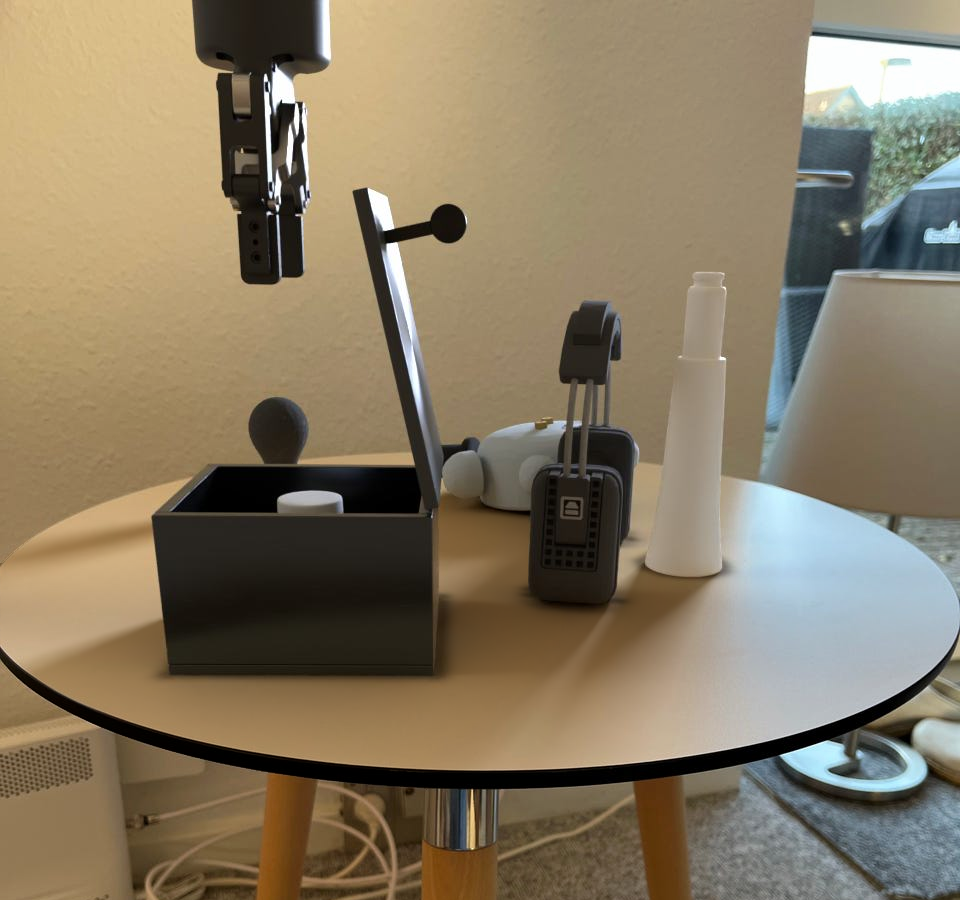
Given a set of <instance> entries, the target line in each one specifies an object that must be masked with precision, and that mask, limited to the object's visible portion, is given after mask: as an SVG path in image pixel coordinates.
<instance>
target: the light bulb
mask: <svg viewBox="0 0 960 900" xmlns="http://www.w3.org/2000/svg"><path fill="white" fill-rule="evenodd" d="M247 424H248V425H247V426H248V428H247V429H248V435H249V439H250V441H251V444H252V446H253V447H254V449H255V450H256V452H257V454H258V455H259V456H260V458H261V460H262V462H263V464H299V460H300V456H301V455H302V453H303V451H304V448H305V446H306V444H307V441H308V438H309V431H310V426H309V422H308V417H307V415H306V413H305V412H304V410H303V409H302V408H301V406H299V405H298V404H297V403H296V402H295V401H293V400H291V399H289V398H287V397H283V396H272V397H267V398H265V399H263V400H262V401H260V402H258V404H257V405H256V406H255V407H254V408H253V409H252V411H251V413H250V415H249V418H248V423H247Z"/></svg>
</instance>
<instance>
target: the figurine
mask: <svg viewBox="0 0 960 900" xmlns="http://www.w3.org/2000/svg"><path fill="white" fill-rule="evenodd" d="M566 421H567V420H554V417H553V416H552V417H551V416H547V417H542V418H540V420H539V421H535V422H533V421H532V422H526V423H519V424H515V425H512V426H511V425H510V426H508V427H505V428H502V429H499V430H496V431H494V432H492V433H490V434H488V435H487V436H485V437H484V438H483V439H482V440H481V441H480V440H479V439H478V438H477V437H476V436H467V437H465V438H464V439H463V440H462V442H461V443H454V444H453V443H450V444H441V446H442V451H443V455H444V458H443V469H442V482H443V485H444V486H443V487H444V488H445V489H446V491H447V492H448V493H450V494H451V495H453V496H454V497H456V498H459V499H466V500H467V499H473V498H478V497H479V498H480V501H481V502H482V503H483V504H484V505H485V506H488V507H491V508H494V509H500V510H504V511H505V510H506V511H521V512H523V511H524V512H526V511H527V512H528V511H531V488H532V484H533V479H534V478H535V476H536V474H537V472H538V471H539V470H540V468H542V467H543V466H545V465H549V464H557V456H558V445H559V441H560V438H561V437H562V435H563V433H564V432H565V431H566ZM590 423H591V422H589V424H590ZM579 425H582V420H574V423H573V427H577V426H579ZM634 444H635V459H634V468H635V467H637V465H638V463H639V460H640V449H639V446H638V444H637V442H635V441H634Z"/></svg>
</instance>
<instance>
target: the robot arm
mask: <svg viewBox="0 0 960 900" xmlns="http://www.w3.org/2000/svg"><path fill="white" fill-rule="evenodd" d="M191 8H192V22H193V33H194V36H193V37H194V48H195V49H194V50H195V54H196V57H197V58H198V60H199V61H200V62H201V63H202V64H203V65H205V66H207V67H210V68H212V69H216V70H221V71H226V72H218V73H217V78H216V80H215V88H216V91H217V103H218V104H217V105H218V107H217V108H218V123H219V143H220V160H221V179H222V180H221V190H222V191H223V195H224V197H225V199H229V203H230V205H231V207H232V210H233V212H240V213H236V220H237V221H236V222H237V236H238V237H237V238H238V253H239V268H240V269H239V271H240V278H241V280H242V282H243V283H244V284H246V285H257V286H258V285H259V286H260V285H263V286H264V285H265V286H272V285H277V284H279V283H280V282H281V280H282V278H285V279H287V278H288V279H297V278H302V277H303V276H304V274H305V273H306V265H305V263H306V262H305V238H304V217H303V216H304V215H306V210H307V209H308V205H310V199H312V192H311V190H310V180H309V179H310V178H309V156H308V155H309V153H308V136H307V135H308V133H307V132H308V131H307V128H308V124H307V117H308V109H307V107H306V104H305V101H296V98H295V97H296V96H295V87H294V85H293V83H294V82H293V81H294V78H295V77H296V76H297V75H300V74H303V75H312V74H316V73H320V72H323V71H324V70H326V69H327V68H328V67H329V66H330V63H331V60H332V58H331V57H332V56H331V53H332V52H331V23H330V21H331V20H330V17H331V16H330V0H191Z"/></svg>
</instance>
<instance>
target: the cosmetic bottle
mask: <svg viewBox="0 0 960 900" xmlns="http://www.w3.org/2000/svg"><path fill="white" fill-rule="evenodd" d="M692 280H693V285H691V286H689V287H688V289H687V293H686V305H685V317H684V330H683V343H682V353H681V355H678V356H677V357H676V359H675V366H674V372H673V373H674V374H673V381H672V387H671V395H670V403H669V404H670V405H669V411H668V420H667V429H666V436H665V437H666V438H665V445H664V451H663V452H664V454H663V460H662V470H661V475H660V484H659V491H658V497H657V503H656V510H655V514H654V515H655V516H654V521H653V525H652V532H651V536H650V540H649V544H648V547H647V551H646V556H645V558H644V559H645V560H644V564H645V566H646V567H647V568H648V569H650V570H651V571H653V572H656V573H659V574H662V575H667V576H673V577H682V578H699V577H702V578H703V577H707V576H713V575H716V574H718V573H720V572H721V571H722V570H723V559H722V558H723V557H722V546H721V545H722V543H721V513H720V512H721V511H720V510H721V477H722V456H723V439H724V438H723V437H724V419H725V418H724V417H725V400H726V399H725V397H726V376H727V375H726V374H727V373H726V372H727V358H726V357H723V356H722V346H723V337H724V326H725V325H724V324H725V314H726V305H727V294H728V293H727V288H726V287H725V286H723V281H724V280H725V273H724V272H722V271H721V272H720V271H719V272H718V271H695V272H692Z"/></svg>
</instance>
